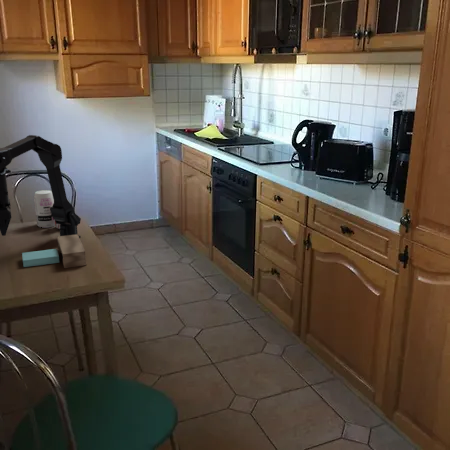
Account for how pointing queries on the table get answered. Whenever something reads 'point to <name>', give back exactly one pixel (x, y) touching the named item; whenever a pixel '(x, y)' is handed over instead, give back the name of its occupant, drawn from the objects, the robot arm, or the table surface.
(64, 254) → the block
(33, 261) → the teal rectangular block
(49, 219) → the supplement can
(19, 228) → the table surface
